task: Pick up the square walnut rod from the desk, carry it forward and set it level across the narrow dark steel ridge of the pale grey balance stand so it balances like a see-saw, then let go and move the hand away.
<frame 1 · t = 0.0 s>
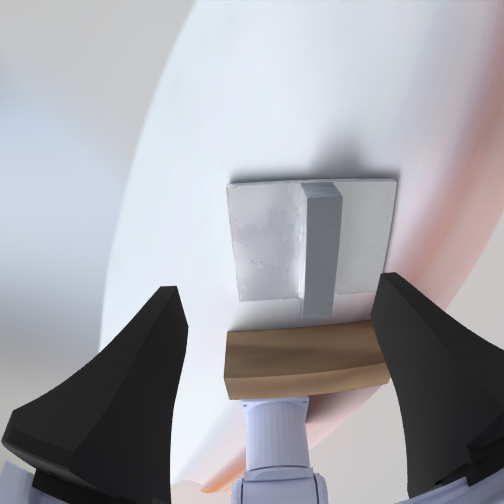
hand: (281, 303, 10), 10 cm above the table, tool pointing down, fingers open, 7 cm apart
walnut rod: (306, 339, 26), on the table
balance stand: (313, 241, 20), on the table
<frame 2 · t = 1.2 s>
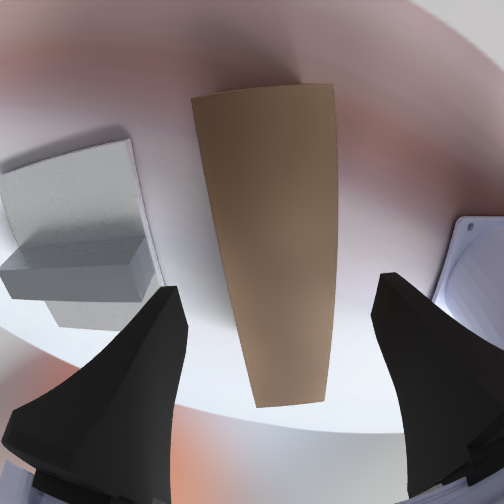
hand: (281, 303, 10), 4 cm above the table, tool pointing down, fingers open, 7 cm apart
walnut rod: (275, 237, 14), on the table
balance stand: (82, 252, 14), on the table
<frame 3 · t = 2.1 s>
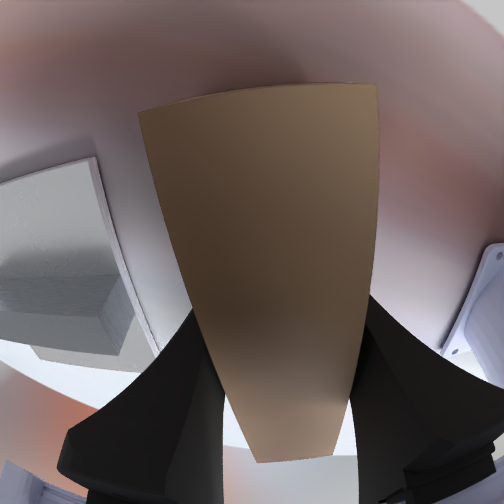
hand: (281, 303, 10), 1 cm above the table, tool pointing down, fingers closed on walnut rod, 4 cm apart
walnut rod: (277, 277, 12), on the table, touching gripper
balance stand: (54, 286, 12), on the table
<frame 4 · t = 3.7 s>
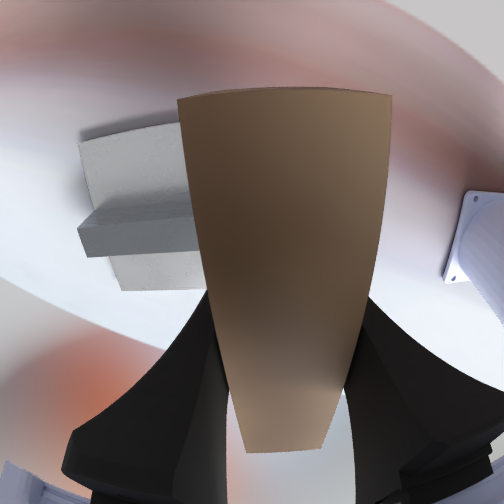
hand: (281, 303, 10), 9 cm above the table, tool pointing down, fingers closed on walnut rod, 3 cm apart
walnut rod: (278, 270, 12), point 7 cm above the table, touching gripper
balance stand: (163, 213, 18), on the table
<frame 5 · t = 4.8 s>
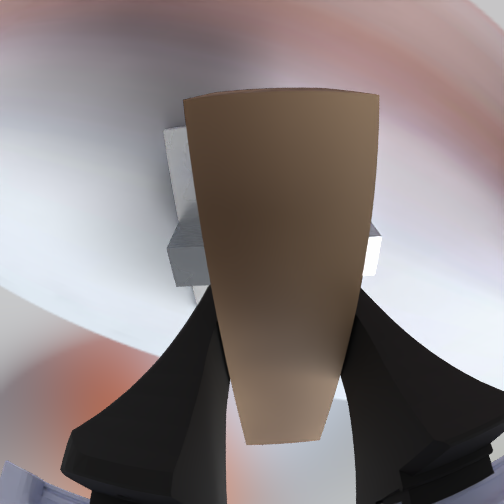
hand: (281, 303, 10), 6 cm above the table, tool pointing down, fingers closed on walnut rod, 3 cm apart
walnut rod: (276, 264, 12), point 3 cm above the table, touching balance stand, gripper
balance stand: (272, 229, 15), on the table
when the fingers open (5 cm above the table, at t = 5.2 s): walnut rod stays where it is, resting on balance stand.
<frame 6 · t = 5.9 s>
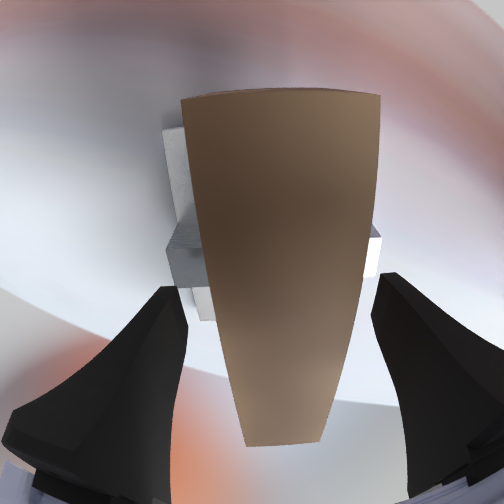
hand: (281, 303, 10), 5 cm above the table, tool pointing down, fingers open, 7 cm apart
walnut rod: (275, 265, 12), point 3 cm above the table, touching balance stand
balance stand: (272, 229, 15), on the table
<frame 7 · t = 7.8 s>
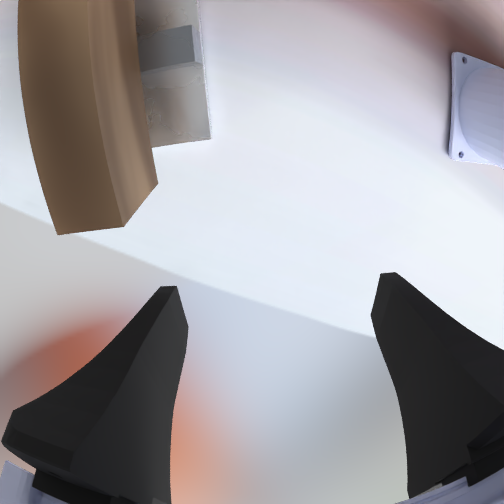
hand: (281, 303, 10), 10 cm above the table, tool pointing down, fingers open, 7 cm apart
walnut rod: (107, 64, 11), point 3 cm above the table, touching balance stand
balance stand: (129, 64, 14), on the table
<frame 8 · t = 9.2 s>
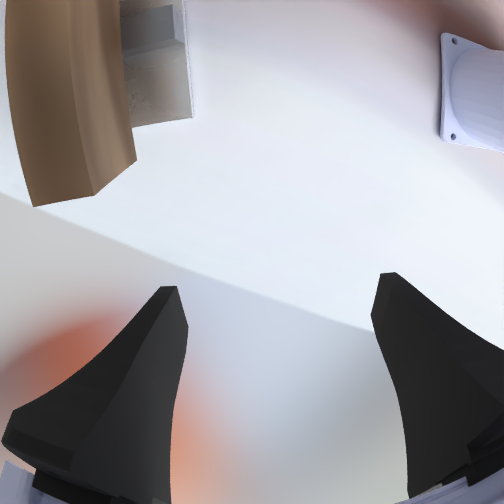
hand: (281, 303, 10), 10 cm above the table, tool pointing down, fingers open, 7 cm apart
walnut rod: (91, 45, 11), point 3 cm above the table, touching balance stand
balance stand: (115, 47, 13), on the table
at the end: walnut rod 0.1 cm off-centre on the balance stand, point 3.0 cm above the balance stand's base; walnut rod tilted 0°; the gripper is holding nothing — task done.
